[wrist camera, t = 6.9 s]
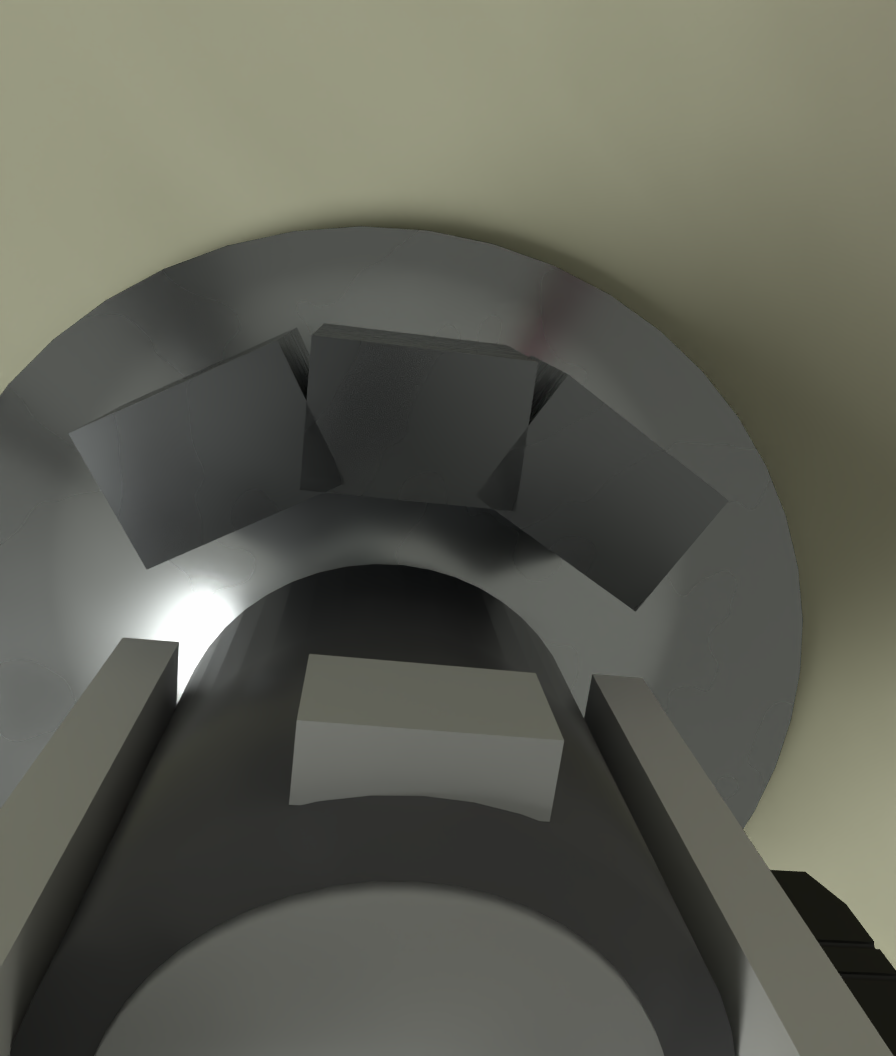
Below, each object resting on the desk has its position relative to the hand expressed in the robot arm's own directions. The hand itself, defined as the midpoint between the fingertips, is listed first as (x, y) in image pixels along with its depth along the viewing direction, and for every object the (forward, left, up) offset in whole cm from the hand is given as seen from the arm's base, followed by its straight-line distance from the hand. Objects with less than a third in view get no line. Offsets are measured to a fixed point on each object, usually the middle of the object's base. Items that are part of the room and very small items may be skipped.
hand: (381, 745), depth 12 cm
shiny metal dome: (0, 0, -2) cm, 2 cm away
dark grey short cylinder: (0, 0, 0) cm, 1 cm away
